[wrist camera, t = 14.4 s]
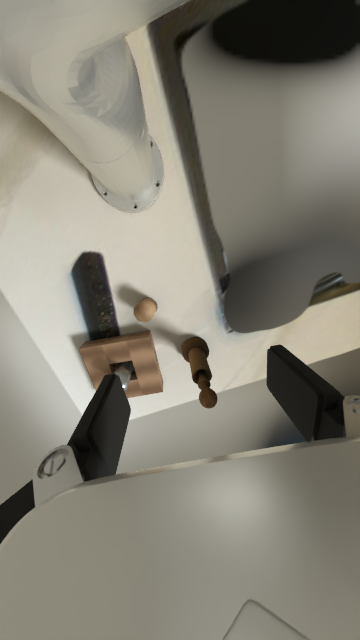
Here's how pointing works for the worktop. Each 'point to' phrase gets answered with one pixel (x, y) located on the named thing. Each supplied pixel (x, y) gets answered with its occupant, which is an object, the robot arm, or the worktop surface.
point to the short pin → (145, 309)
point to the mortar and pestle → (200, 369)
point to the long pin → (124, 372)
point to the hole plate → (120, 349)
